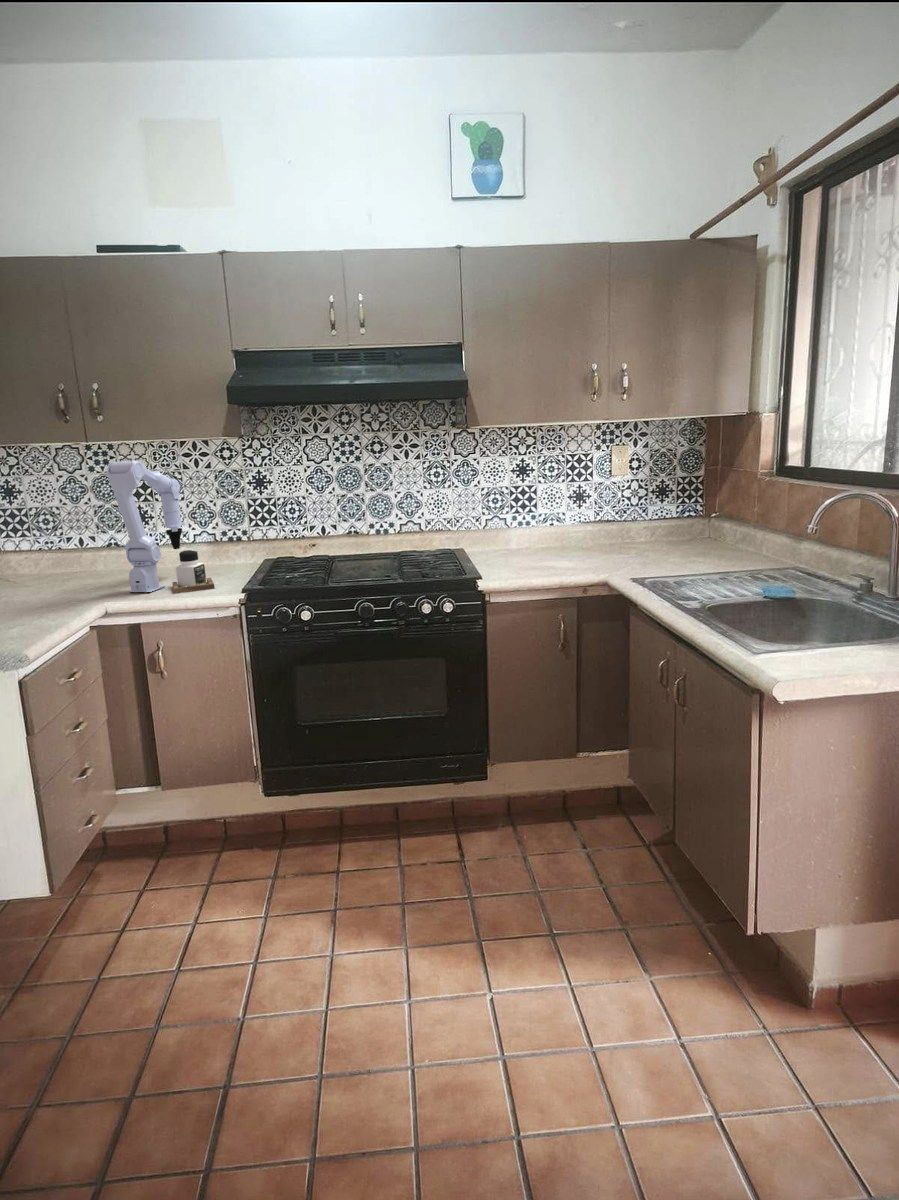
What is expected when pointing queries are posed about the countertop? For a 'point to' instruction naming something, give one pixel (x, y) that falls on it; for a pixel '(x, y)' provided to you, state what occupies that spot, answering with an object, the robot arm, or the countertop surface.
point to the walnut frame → (193, 587)
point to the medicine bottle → (190, 569)
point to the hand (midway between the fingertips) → (176, 548)
